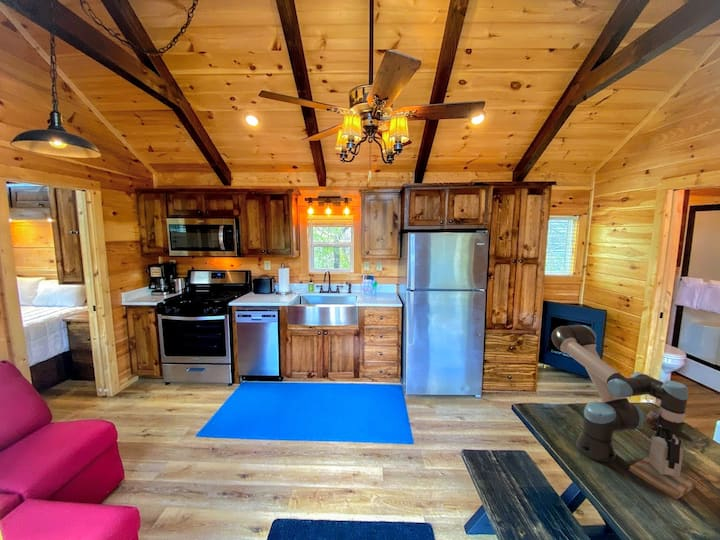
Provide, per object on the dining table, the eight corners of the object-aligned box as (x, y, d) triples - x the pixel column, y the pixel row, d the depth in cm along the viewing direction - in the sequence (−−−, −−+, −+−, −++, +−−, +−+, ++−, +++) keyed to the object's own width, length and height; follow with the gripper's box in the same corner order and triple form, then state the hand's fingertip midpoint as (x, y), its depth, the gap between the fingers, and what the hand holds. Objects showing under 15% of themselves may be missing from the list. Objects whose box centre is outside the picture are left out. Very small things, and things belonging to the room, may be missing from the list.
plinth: (676, 499, 124) (677, 493, 123) (629, 470, 138) (630, 464, 138) (696, 486, 130) (697, 480, 129) (649, 460, 144) (649, 454, 144)
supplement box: (680, 477, 129) (684, 449, 127) (659, 474, 130) (663, 447, 129) (667, 463, 136) (671, 437, 134) (647, 461, 138) (651, 435, 136)
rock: (673, 438, 161) (670, 428, 169) (679, 424, 159) (676, 415, 166) (644, 426, 168) (642, 416, 176) (649, 413, 166) (647, 404, 173)
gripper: (697, 435, 119) (688, 487, 122) (670, 407, 138) (663, 452, 141) (671, 430, 122) (663, 481, 125) (649, 403, 141) (642, 447, 144)
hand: (663, 466), depth 133 cm, fingers closed on supplement box, 8 cm apart
